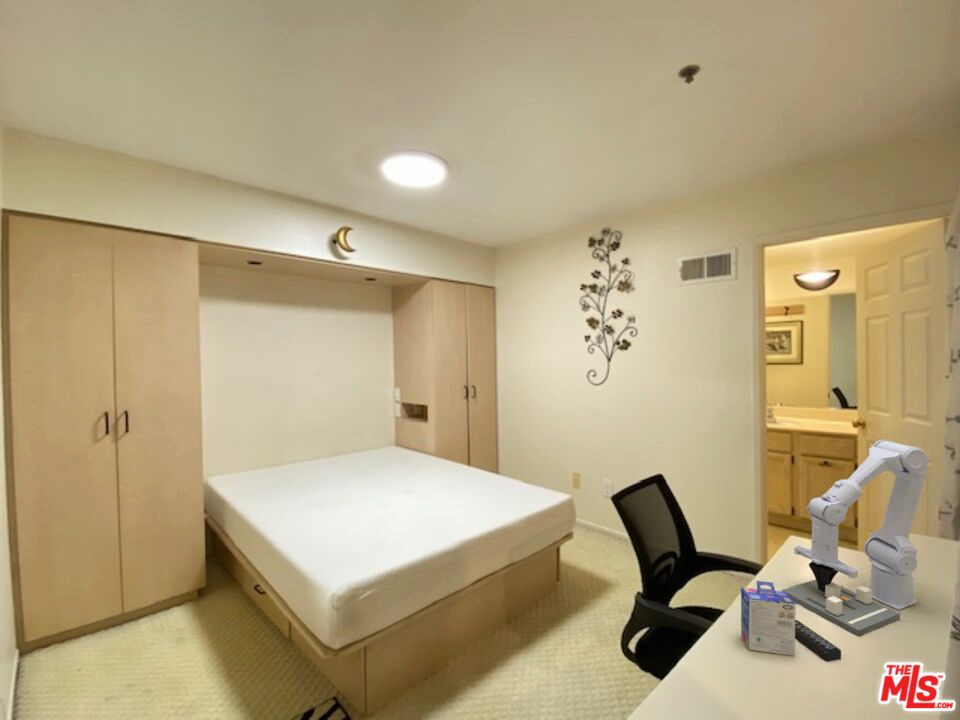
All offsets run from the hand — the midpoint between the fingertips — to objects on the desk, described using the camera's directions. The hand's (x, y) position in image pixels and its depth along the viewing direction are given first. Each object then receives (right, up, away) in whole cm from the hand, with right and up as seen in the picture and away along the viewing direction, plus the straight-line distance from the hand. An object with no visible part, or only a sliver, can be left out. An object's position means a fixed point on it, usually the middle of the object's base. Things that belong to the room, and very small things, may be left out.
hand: (823, 590), depth 116 cm
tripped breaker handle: (+1, -1, -2) cm, 2 cm away
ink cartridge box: (-28, -3, -18) cm, 34 cm away
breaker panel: (+1, -3, -3) cm, 4 cm away
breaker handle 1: (-4, -1, -8) cm, 9 cm away
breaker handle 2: (+8, -1, -3) cm, 9 cm away
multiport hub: (-17, -4, -17) cm, 25 cm away
